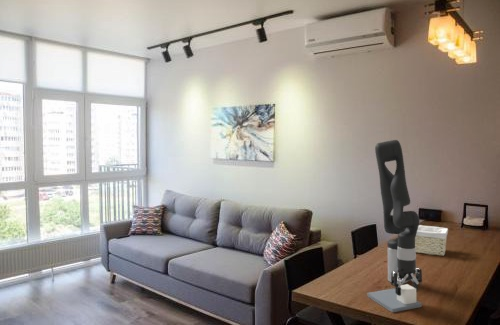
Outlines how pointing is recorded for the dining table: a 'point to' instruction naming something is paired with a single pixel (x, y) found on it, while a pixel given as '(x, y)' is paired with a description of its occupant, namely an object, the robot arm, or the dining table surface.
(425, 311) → the dining table surface
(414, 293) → the cream rounded cube
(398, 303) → the base plate
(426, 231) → the storage basket
